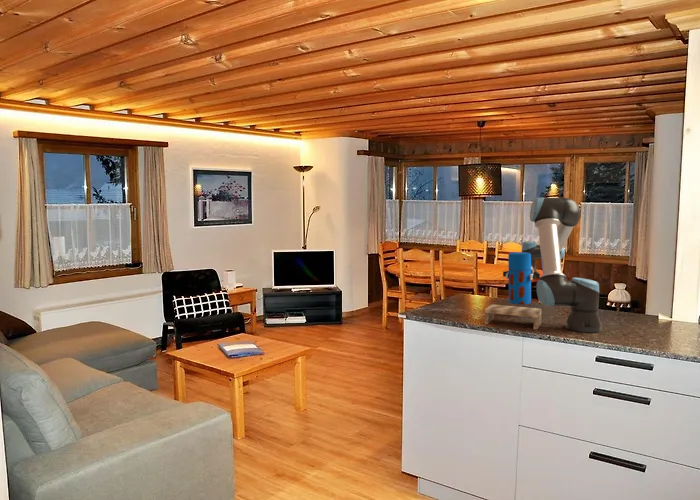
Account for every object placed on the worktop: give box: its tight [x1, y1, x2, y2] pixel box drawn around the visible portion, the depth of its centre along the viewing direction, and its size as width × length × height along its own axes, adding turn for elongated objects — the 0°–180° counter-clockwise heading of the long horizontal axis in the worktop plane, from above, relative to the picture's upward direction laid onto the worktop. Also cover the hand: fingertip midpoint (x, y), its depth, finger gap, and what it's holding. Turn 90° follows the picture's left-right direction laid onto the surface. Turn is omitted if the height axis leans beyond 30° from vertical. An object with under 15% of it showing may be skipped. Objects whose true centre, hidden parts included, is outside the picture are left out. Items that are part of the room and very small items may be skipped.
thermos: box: [507, 251, 532, 305], centre depth 279 cm, size 11×11×25 cm
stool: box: [484, 303, 542, 330], centre depth 266 cm, size 24×14×7 cm, turn 64°
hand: (518, 276), depth 276 cm, fingers closed on thermos, 11 cm apart
